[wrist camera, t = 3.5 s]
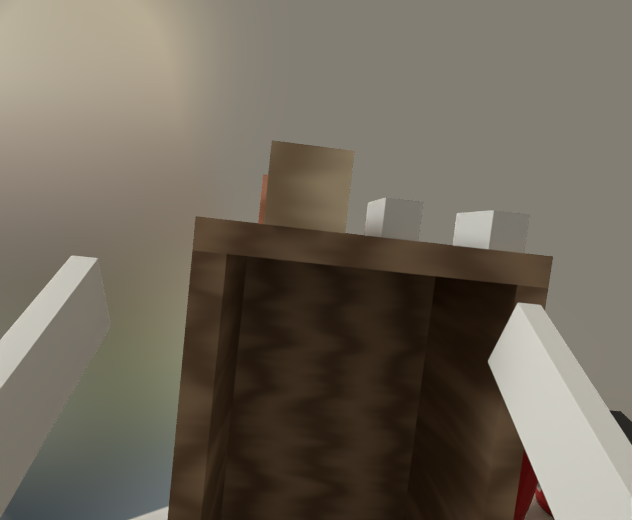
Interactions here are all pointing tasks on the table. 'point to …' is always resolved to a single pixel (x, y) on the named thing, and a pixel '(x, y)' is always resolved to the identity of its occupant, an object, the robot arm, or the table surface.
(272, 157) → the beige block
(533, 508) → the table surface
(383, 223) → the twin white cubes
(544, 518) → the table surface
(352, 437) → the wooden tower
